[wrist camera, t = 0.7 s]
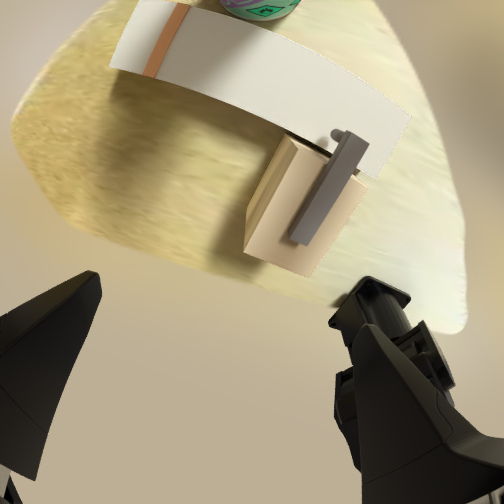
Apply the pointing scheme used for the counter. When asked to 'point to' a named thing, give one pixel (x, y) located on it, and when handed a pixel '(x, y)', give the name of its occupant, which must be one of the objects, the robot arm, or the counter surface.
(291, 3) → the spray can
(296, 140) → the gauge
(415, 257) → the counter surface
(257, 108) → the board
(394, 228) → the counter surface
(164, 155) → the counter surface
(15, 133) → the counter surface
